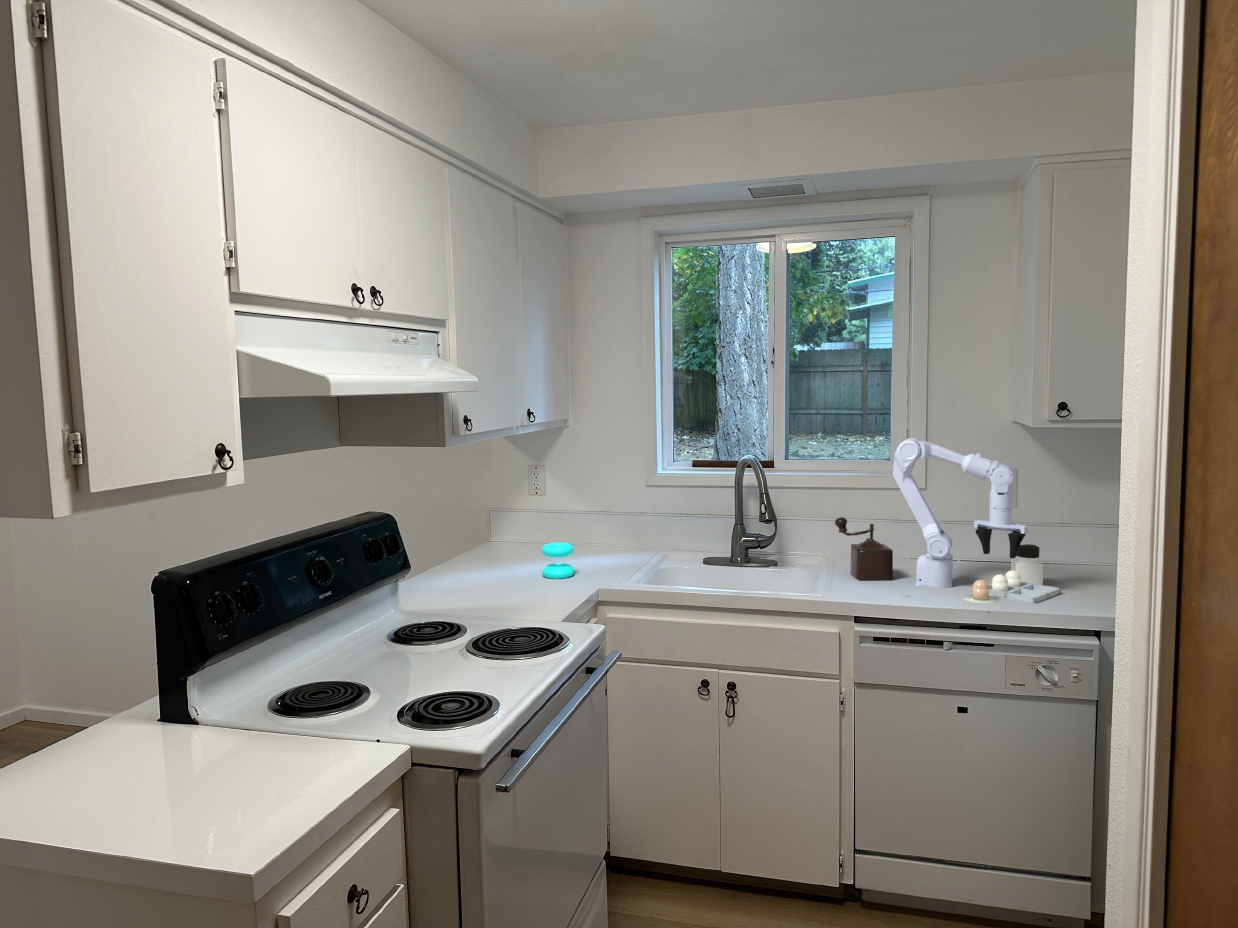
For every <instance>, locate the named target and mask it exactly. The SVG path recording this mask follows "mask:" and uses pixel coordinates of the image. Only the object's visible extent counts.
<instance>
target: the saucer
mask: <svg viewBox="0 0 1238 928" xmlns="http://www.w3.org/2000/svg"><path fill="white" fill-rule="evenodd" d="M962 599H963V600H965V601H967V602H970V603H976V604H996V603H999V602H1000V599H998V597H996V596H991V595H989V600H987V601H979V600H974V599H973V594H968V595H964V596H963V597H962Z"/></svg>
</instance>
